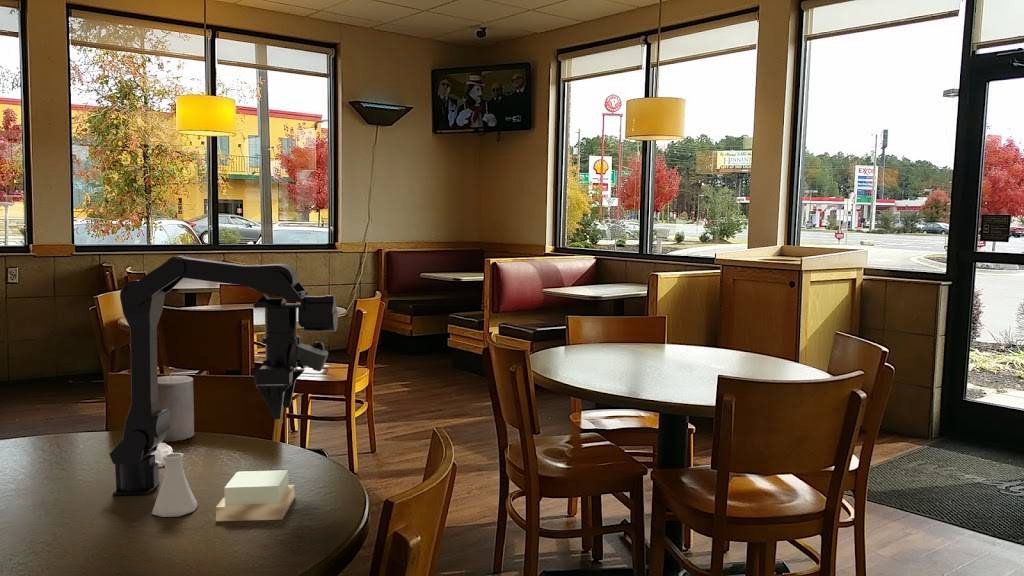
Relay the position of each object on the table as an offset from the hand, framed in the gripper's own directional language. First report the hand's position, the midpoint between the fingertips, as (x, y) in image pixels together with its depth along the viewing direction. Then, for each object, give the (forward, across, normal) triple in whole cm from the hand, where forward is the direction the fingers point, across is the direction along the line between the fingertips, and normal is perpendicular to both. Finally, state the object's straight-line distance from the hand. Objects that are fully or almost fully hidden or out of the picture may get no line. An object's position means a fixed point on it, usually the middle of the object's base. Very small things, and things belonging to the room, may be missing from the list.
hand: (282, 413), depth 154 cm
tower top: (+12, -11, +2) cm, 17 cm away
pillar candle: (+15, +40, +33) cm, 54 cm away
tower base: (+15, -12, +2) cm, 19 cm away
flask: (+15, -11, +16) cm, 25 cm away
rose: (+15, +19, +30) cm, 39 cm away
